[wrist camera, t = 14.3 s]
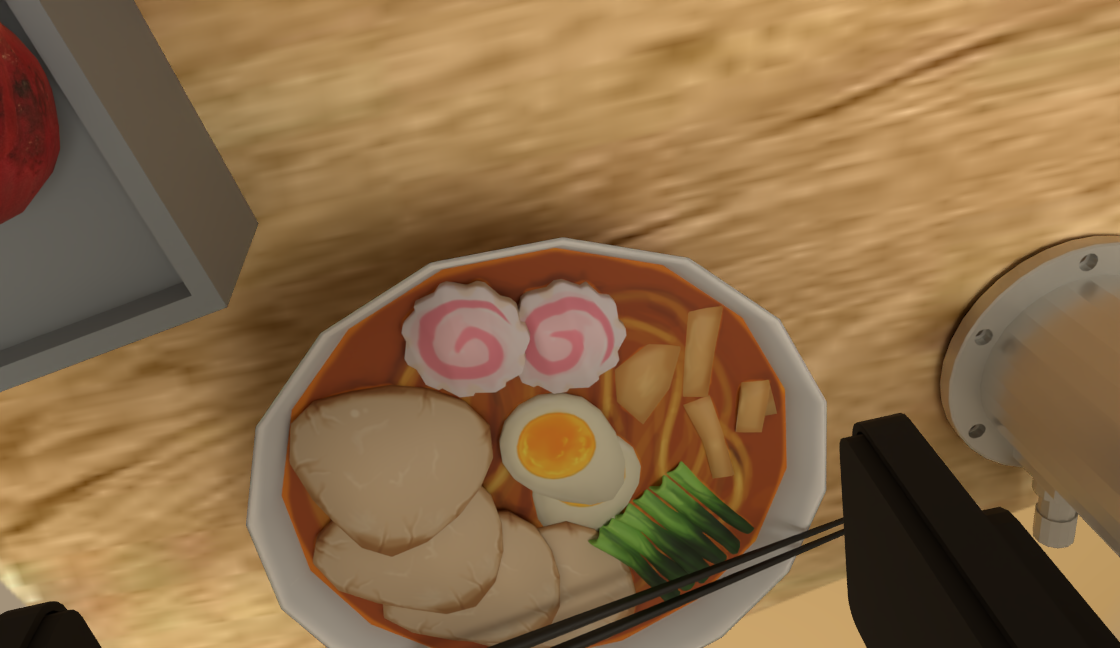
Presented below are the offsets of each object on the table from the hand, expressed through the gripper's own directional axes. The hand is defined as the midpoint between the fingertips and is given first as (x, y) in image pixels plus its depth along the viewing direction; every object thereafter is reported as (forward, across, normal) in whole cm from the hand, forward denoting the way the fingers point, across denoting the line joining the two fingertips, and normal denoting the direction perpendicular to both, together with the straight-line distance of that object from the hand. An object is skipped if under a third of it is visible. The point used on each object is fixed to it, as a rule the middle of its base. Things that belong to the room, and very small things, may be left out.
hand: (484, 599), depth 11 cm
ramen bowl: (+27, +1, +15) cm, 31 cm away
